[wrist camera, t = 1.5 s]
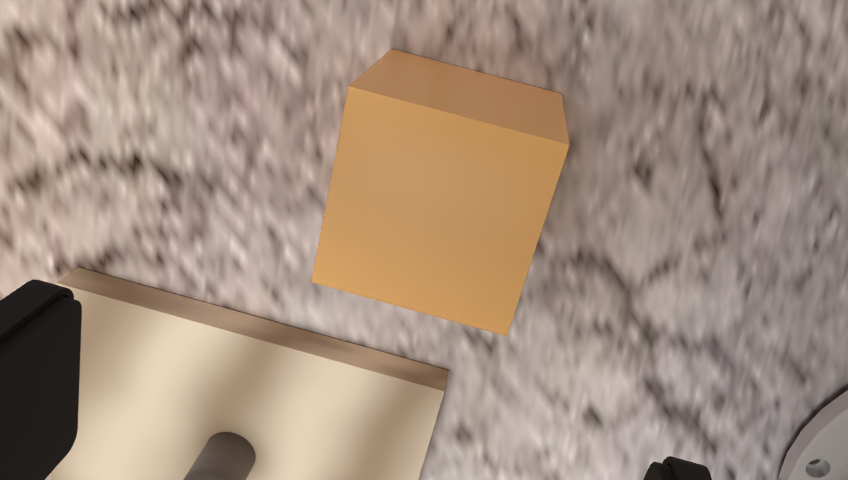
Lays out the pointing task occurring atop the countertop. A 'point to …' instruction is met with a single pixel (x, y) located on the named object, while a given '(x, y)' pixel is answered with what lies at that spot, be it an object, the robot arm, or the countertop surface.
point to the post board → (236, 395)
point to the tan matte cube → (440, 189)
